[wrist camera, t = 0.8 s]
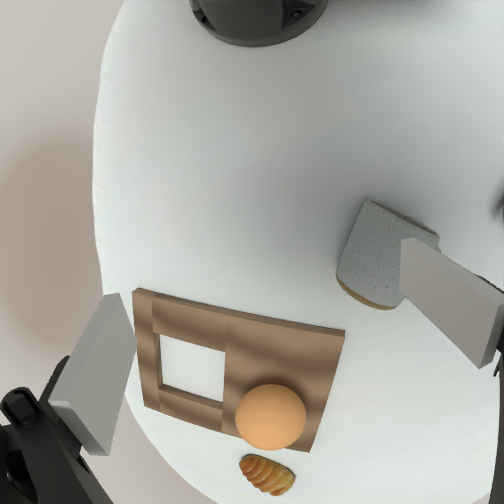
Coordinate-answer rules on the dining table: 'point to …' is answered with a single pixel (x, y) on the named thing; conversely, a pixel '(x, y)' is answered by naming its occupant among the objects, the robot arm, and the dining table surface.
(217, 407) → the hole board
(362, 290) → the ceramic mug
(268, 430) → the ball
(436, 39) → the dining table surface
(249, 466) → the pastry
